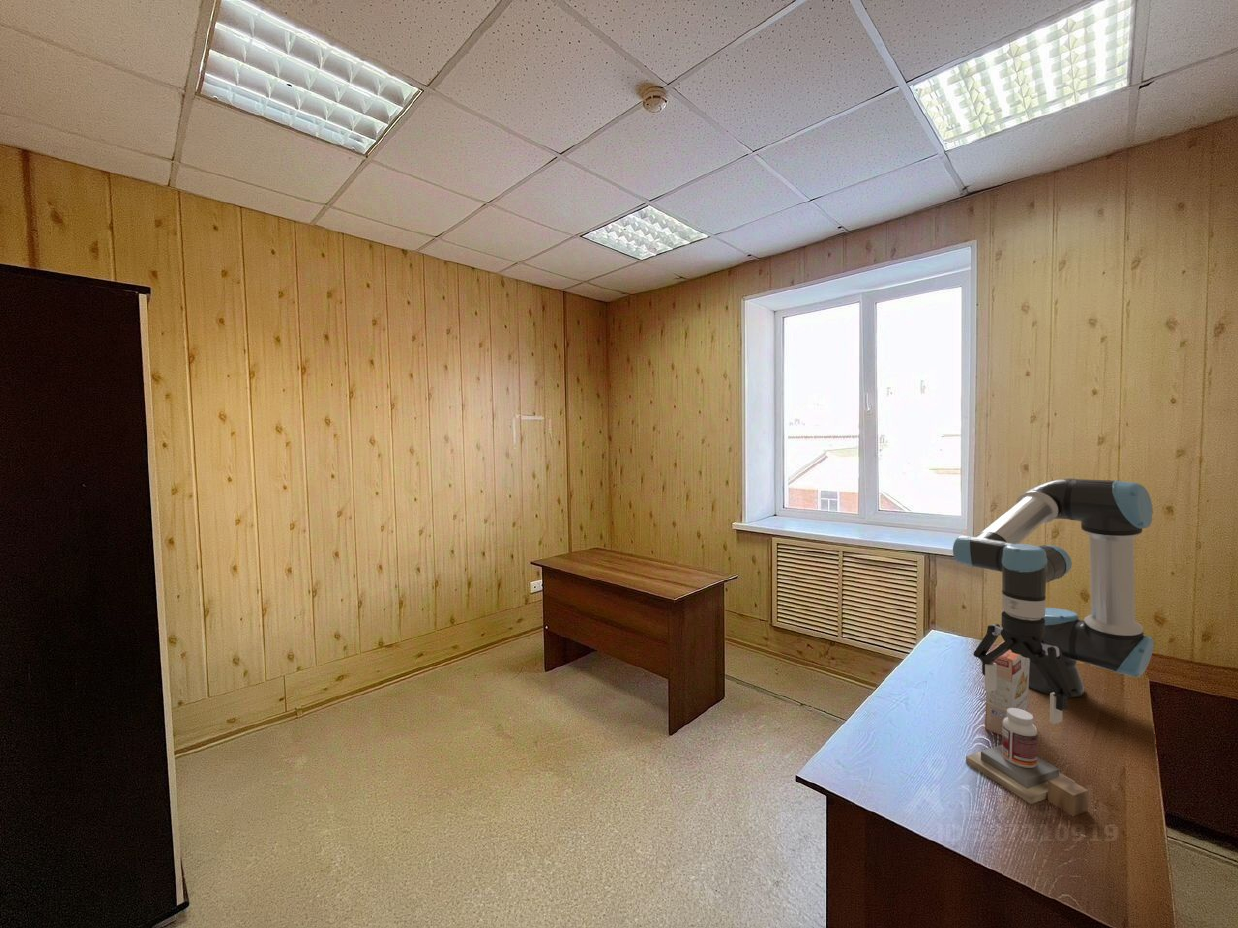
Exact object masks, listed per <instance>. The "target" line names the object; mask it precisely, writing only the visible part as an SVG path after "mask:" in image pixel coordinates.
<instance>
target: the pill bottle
mask: <svg viewBox="0 0 1238 928" xmlns="http://www.w3.org/2000/svg"><path fill="white" fill-rule="evenodd" d="M1002 726H1003V727H1002V736H1001V740H1002V741H1001V743H1002V744H1001V745H1002V754H1003V756H1004V758H1005V759H1006V760H1007V761H1009V762H1011V763H1012V764H1015V765H1017V766H1020V767H1024V768H1033V767H1035V766H1036V765H1037V757H1038V729H1037V727H1036V725H1035V724H1034V715H1033V714H1032V713H1031V712H1028V710H1027V711H1025V710H1022V709H1018V708H1008V709H1007V717H1006V718H1004V719H1003V725H1002Z"/></svg>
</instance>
